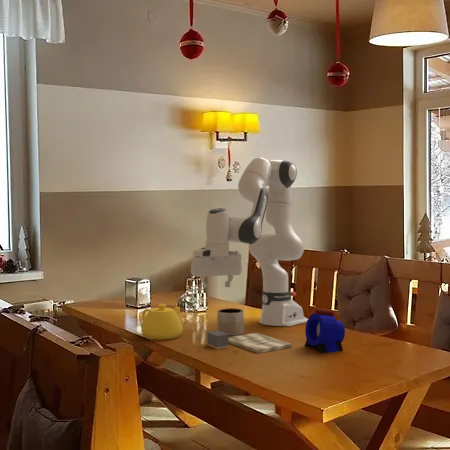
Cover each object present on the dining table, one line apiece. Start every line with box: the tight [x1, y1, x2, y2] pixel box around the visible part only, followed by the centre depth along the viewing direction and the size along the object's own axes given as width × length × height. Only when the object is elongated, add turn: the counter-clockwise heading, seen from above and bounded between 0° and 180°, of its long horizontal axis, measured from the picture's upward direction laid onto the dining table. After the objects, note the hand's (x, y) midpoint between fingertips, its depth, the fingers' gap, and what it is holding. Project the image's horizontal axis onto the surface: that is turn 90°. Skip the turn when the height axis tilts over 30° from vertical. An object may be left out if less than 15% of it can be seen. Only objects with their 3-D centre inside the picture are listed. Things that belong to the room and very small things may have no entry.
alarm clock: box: [304, 308, 346, 354], centre depth 241 cm, size 12×12×15 cm
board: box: [228, 332, 293, 354], centre depth 247 cm, size 16×22×1 cm
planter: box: [216, 307, 245, 337], centre depth 264 cm, size 11×11×10 cm
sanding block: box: [207, 330, 230, 349], centre depth 244 cm, size 5×7×5 cm
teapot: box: [140, 303, 183, 341], centre depth 263 cm, size 20×19×13 cm
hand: (216, 287), depth 245 cm, fingers open, 8 cm apart
